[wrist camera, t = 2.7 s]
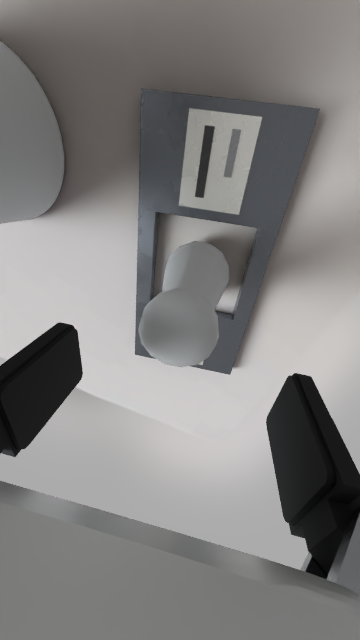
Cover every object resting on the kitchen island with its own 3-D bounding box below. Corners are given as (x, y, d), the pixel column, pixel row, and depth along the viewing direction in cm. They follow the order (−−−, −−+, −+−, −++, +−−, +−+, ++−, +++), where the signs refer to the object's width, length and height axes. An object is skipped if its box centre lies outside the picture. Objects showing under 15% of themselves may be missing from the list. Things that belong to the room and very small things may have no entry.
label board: (146, 95, 16) (140, 86, 15) (313, 114, 15) (321, 107, 14) (138, 348, 29) (134, 356, 27) (229, 367, 28) (230, 376, 26)
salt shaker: (241, 260, 21) (262, 336, 10) (206, 303, 24) (191, 400, 13) (190, 223, 20) (151, 262, 9) (160, 273, 23) (102, 349, 12)
